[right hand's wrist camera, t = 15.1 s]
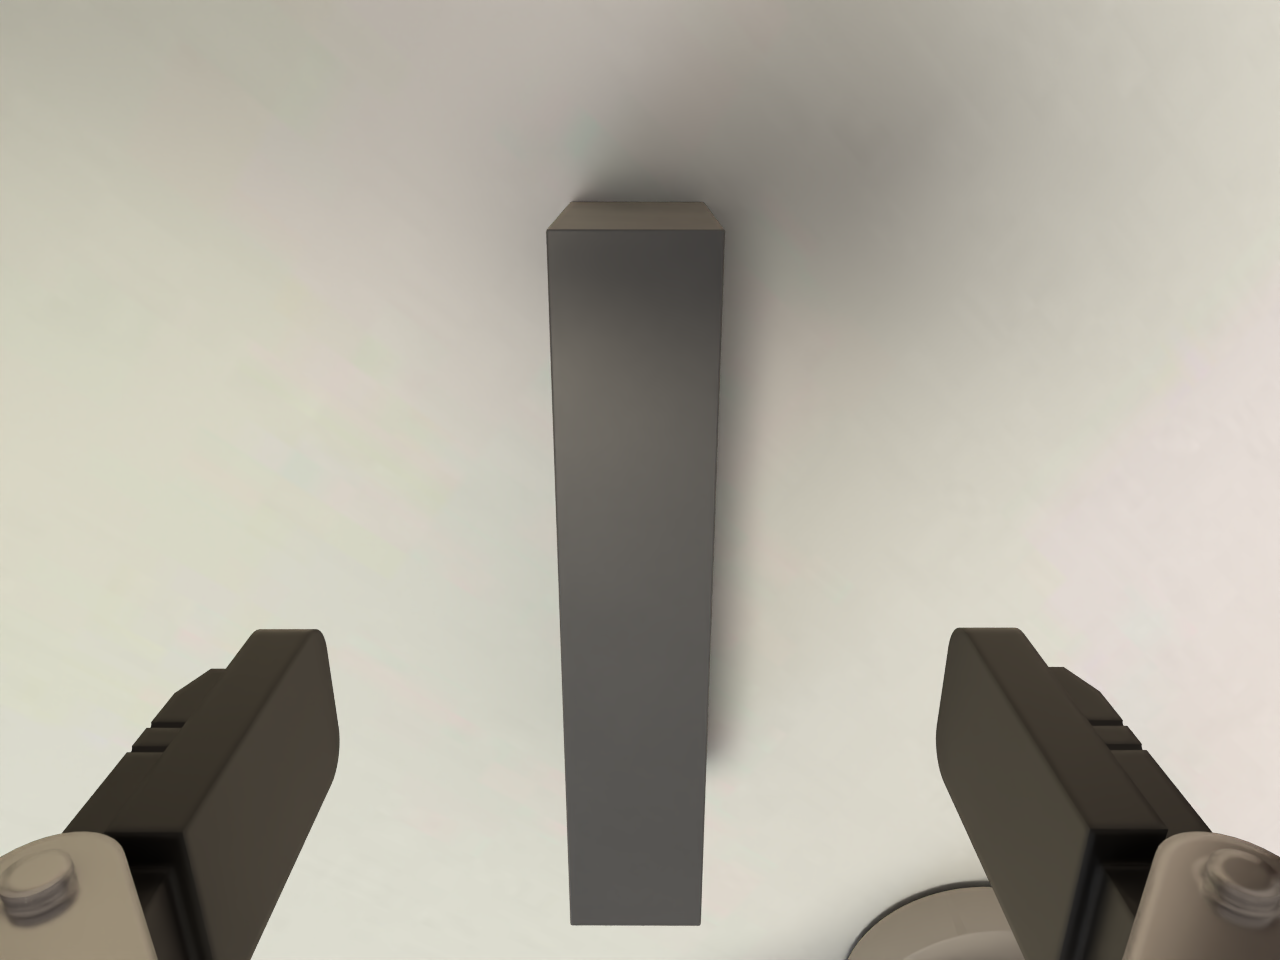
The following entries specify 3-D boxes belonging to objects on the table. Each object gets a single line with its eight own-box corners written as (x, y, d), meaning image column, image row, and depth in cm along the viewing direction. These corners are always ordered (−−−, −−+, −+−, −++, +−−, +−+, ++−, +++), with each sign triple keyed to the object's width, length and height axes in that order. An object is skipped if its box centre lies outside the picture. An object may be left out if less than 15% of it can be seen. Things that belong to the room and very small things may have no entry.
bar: (570, 201, 32) (545, 229, 24) (704, 201, 32) (725, 229, 24) (584, 767, 41) (570, 926, 33) (689, 767, 41) (700, 926, 33)
